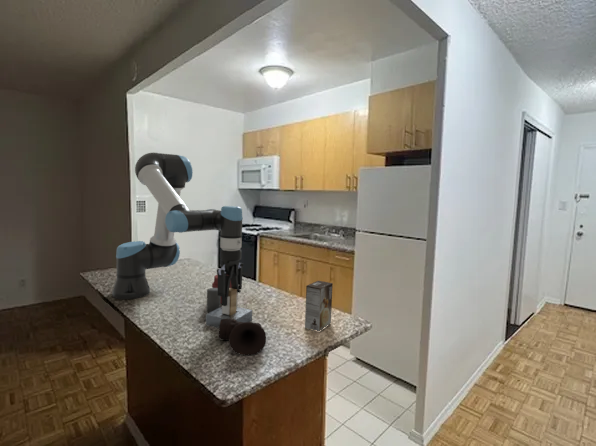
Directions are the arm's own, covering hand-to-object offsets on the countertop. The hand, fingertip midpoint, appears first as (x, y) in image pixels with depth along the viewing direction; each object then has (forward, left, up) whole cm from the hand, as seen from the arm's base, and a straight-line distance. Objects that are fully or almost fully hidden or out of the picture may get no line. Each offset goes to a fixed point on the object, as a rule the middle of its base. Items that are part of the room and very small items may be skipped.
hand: (229, 311), depth 123 cm
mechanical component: (-16, +18, -5) cm, 25 cm away
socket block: (0, 0, -4) cm, 4 cm away
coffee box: (+30, +13, -5) cm, 33 cm away
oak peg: (0, 0, -4) cm, 4 cm away
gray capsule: (-12, +6, -4) cm, 14 cm away
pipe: (+13, -12, -5) cm, 19 cm away
